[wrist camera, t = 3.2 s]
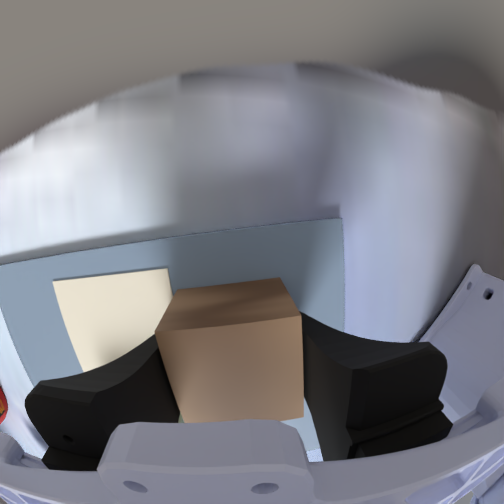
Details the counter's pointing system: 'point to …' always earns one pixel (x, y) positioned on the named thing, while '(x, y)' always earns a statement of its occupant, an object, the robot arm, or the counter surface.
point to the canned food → (3, 406)
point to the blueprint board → (161, 292)
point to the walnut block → (234, 352)
